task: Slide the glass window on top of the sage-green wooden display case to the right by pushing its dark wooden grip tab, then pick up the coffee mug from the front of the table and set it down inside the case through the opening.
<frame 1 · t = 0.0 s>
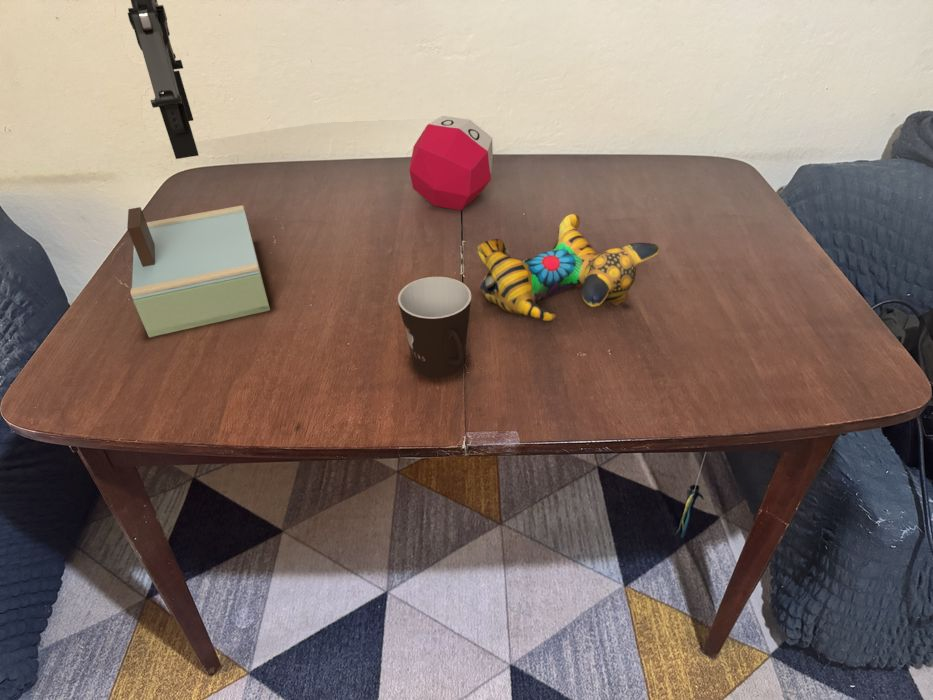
hand: (185, 138, 85), 21 cm above the table, tool pointing down, fingers open, 13 cm apart
display case: (206, 286, 96), on the table
dog figurine: (560, 301, 91), on the table
window: (187, 230, 90), point 9 cm above the table, slide at 0.0 cm
decorative object: (453, 200, 117), on the table
coffee mug: (438, 370, 80), on the table
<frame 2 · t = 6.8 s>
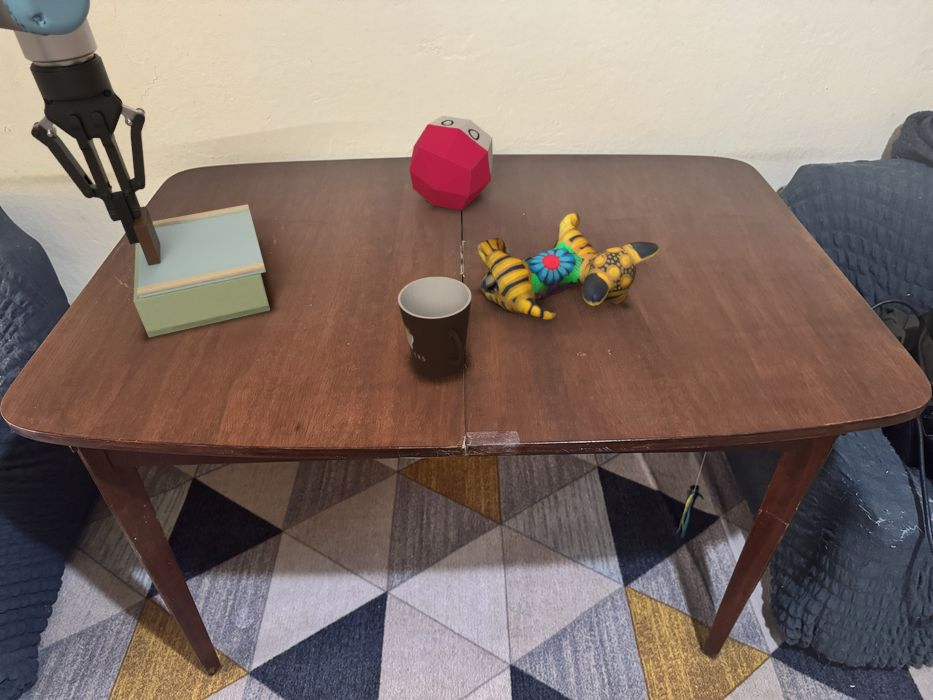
hand: (136, 238, 88), 10 cm above the table, tool pointing down, fingers closed
window: (193, 229, 90), point 9 cm above the table, slide at 0.8 cm, touching gripper
everything else where it was.
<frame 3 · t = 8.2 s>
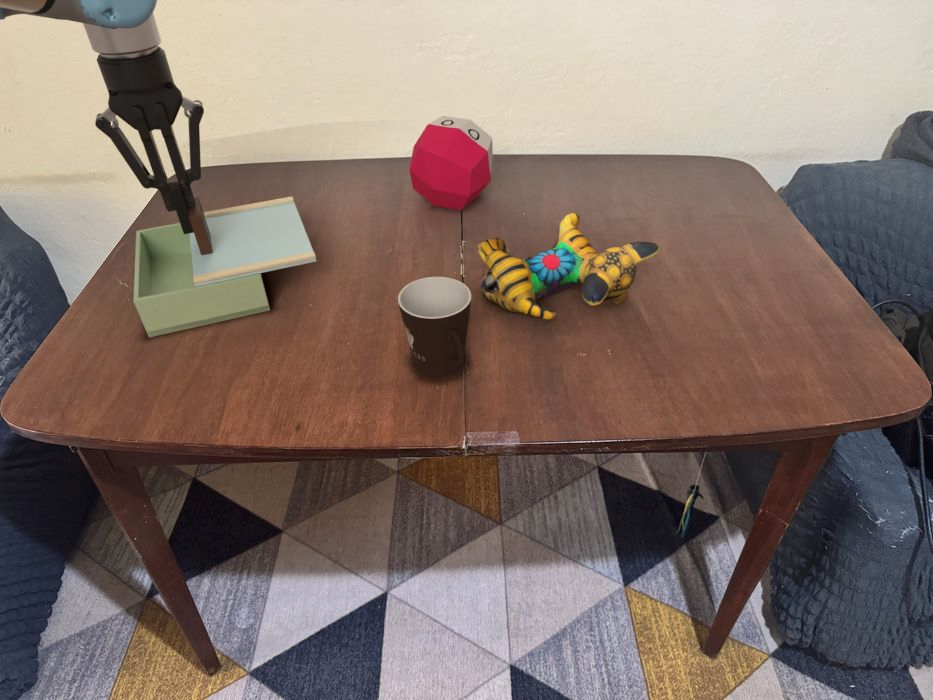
hand: (189, 228, 90), 10 cm above the table, tool pointing down, fingers closed
window: (243, 219, 92), point 9 cm above the table, slide at 7.8 cm, touching gripper
everything else where it was.
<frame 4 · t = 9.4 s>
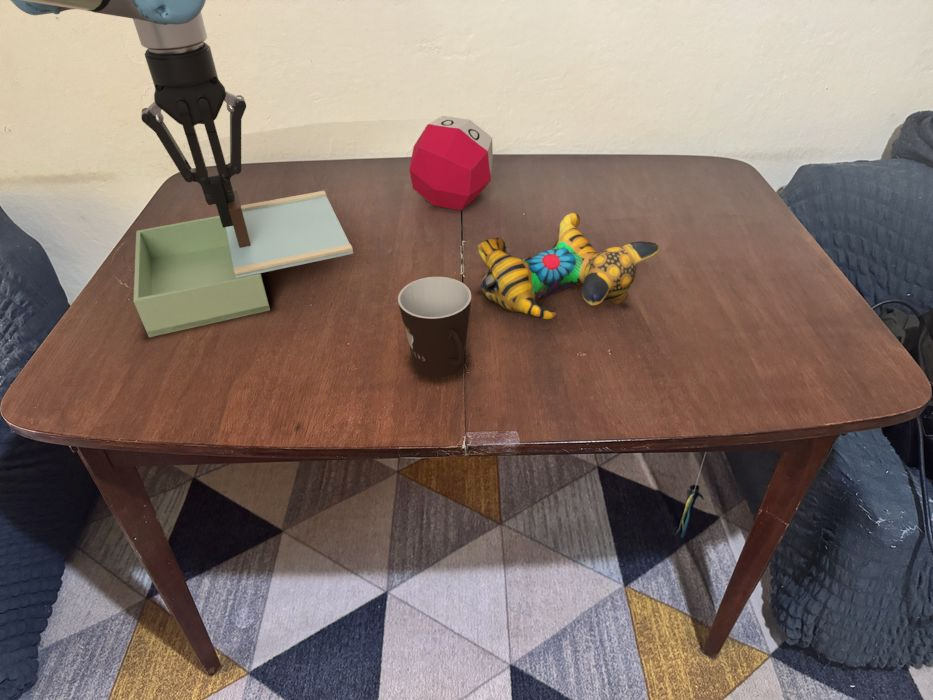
hand: (227, 222, 92), 9 cm above the table, tool pointing down, fingers closed
window: (280, 213, 94), point 9 cm above the table, slide at 13.0 cm, touching gripper
everything else where it was.
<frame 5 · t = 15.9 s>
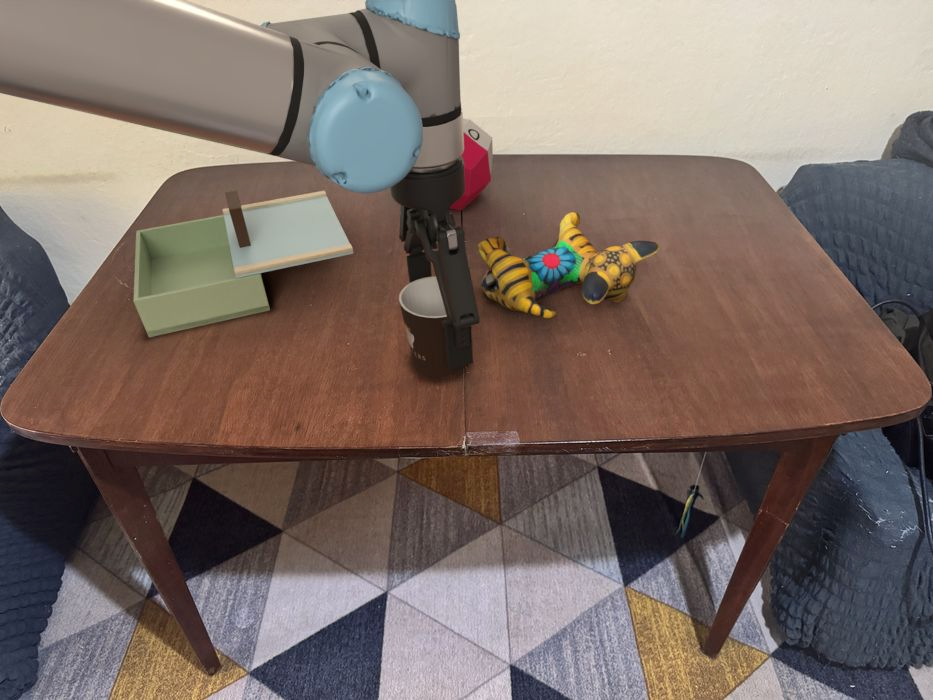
hand: (440, 330, 76), 6 cm above the table, tool pointing down, fingers open, 13 cm apart
window: (280, 213, 94), point 9 cm above the table, slide at 13.0 cm
everything else where it was.
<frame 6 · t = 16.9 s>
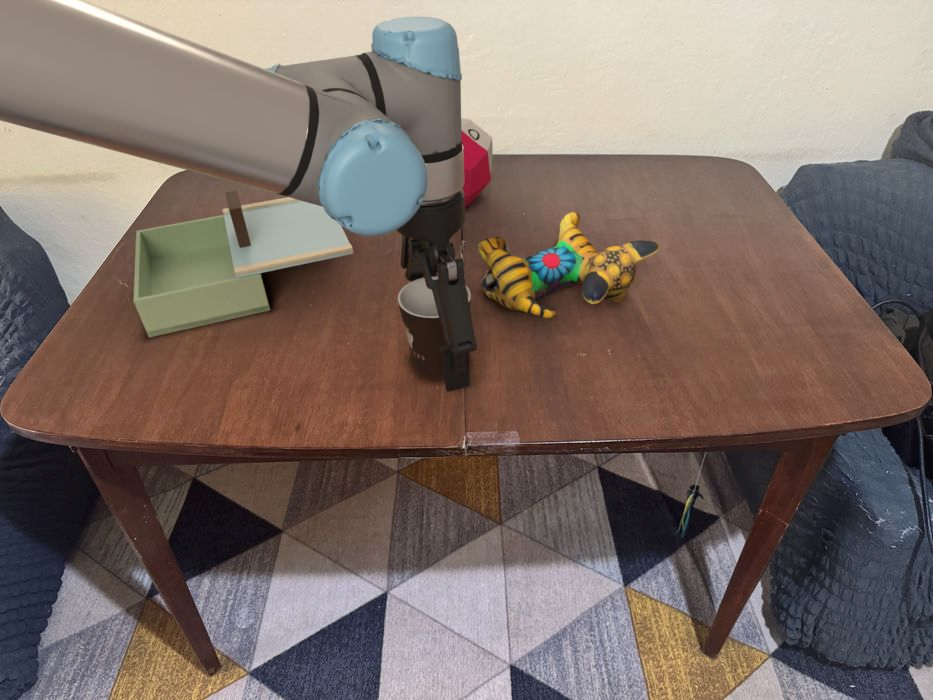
hand: (439, 354, 78), 3 cm above the table, tool pointing down, fingers closed on coffee mug, 12 cm apart
coffee mug: (437, 369, 80), on the table, touching gripper
everything else where it was.
when the fingers open (4 cm above the table, at t = 27.7 s): coffee mug stays where it is, resting on display case.
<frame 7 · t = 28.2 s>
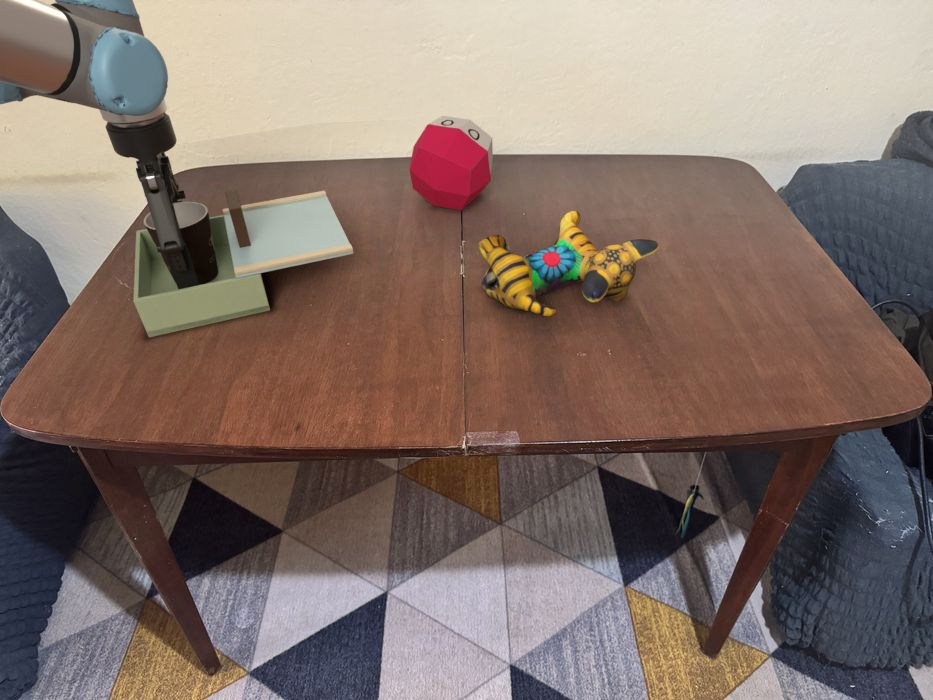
hand: (187, 264, 93), 4 cm above the table, tool pointing down, fingers open, 13 cm apart
coffee mug: (193, 282, 96), point 1 cm above the table, touching display case
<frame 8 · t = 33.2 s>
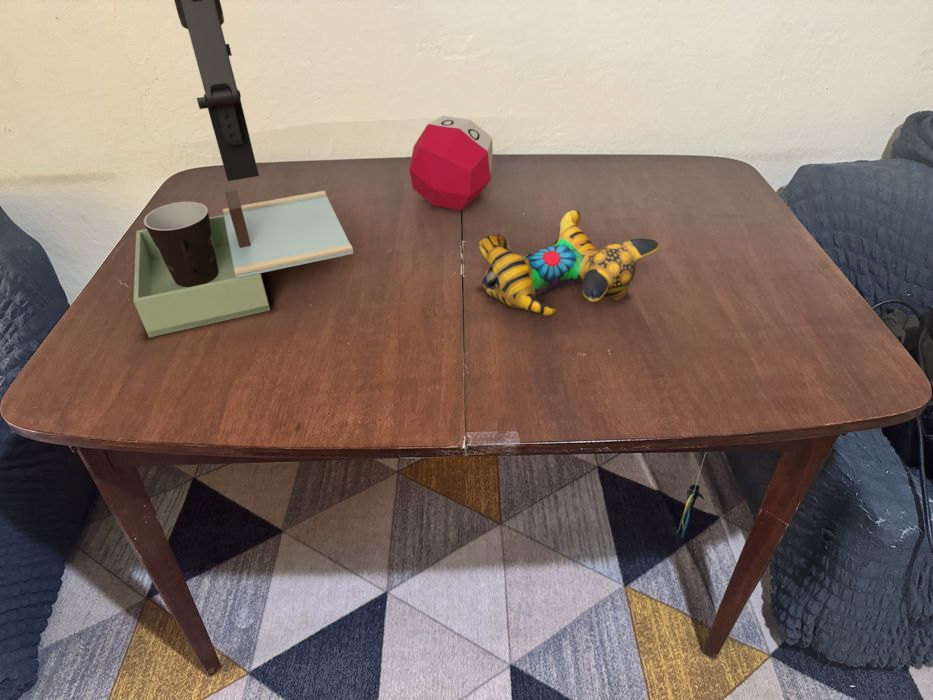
hand: (235, 150, 62), 29 cm above the table, tool pointing down, fingers open, 13 cm apart
at the end: window slide at 13.0 cm; coffee mug inside the target area on the display case (1.7 cm from its centre), point 0.8 cm above the display case's base; coffee mug tilted 0° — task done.
